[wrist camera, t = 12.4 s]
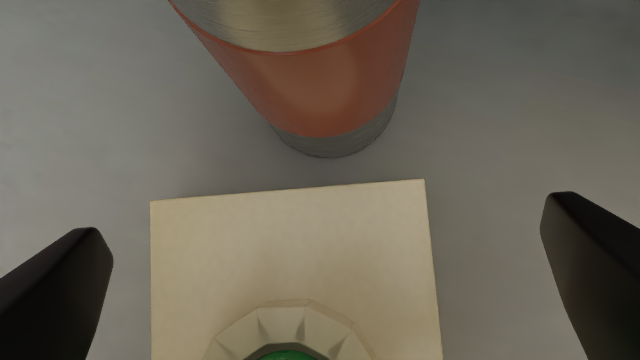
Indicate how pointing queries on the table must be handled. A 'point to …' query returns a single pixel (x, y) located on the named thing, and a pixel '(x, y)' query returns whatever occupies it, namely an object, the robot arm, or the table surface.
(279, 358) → the button
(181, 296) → the console
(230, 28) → the tin
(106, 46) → the table surface
